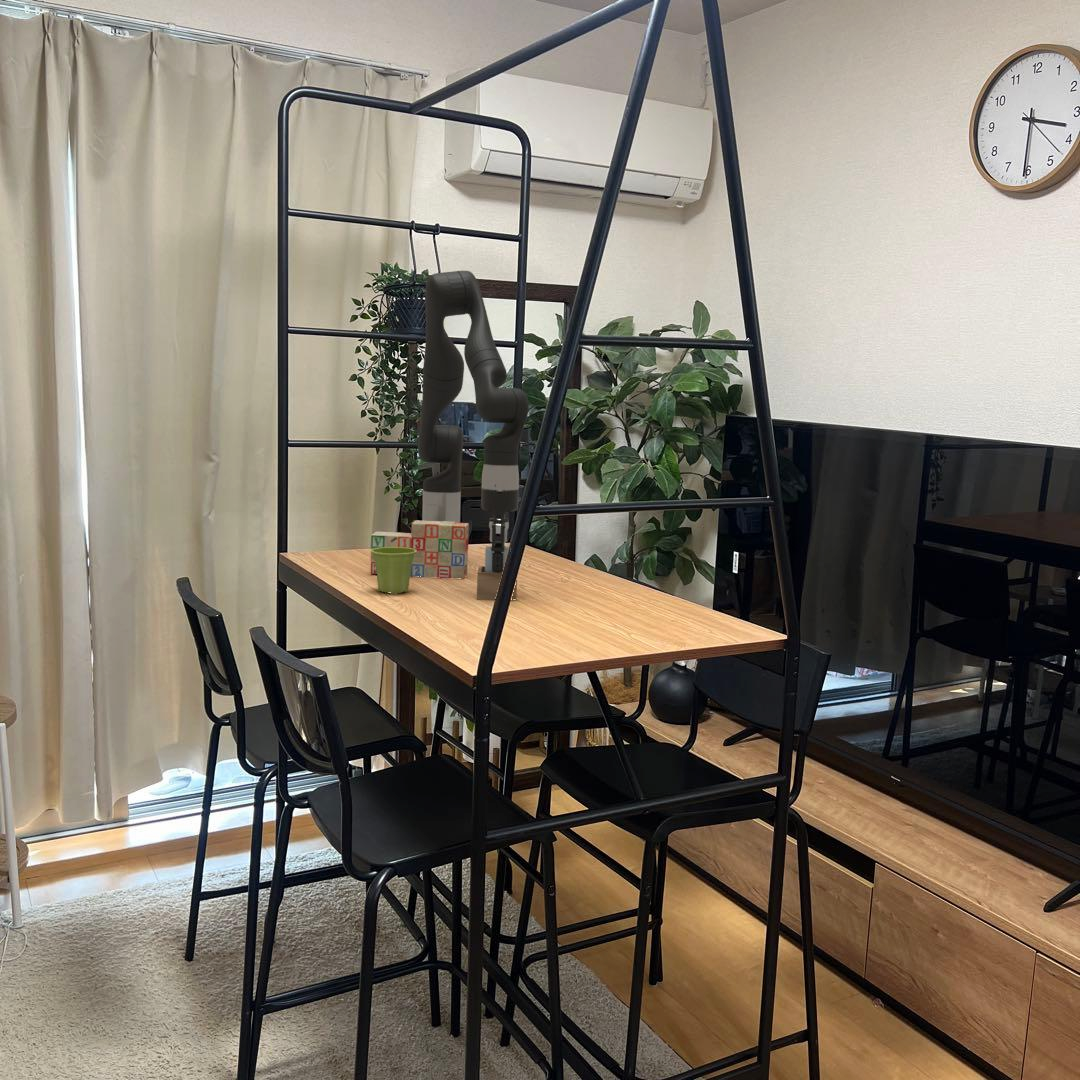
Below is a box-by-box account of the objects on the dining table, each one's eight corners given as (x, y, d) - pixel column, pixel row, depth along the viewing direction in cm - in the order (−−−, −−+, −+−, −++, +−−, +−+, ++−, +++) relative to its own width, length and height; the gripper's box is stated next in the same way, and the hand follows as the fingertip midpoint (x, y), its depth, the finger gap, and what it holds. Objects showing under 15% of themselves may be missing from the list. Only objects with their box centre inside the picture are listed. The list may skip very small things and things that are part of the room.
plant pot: (371, 595, 212) (371, 553, 211) (369, 587, 221) (369, 546, 220) (417, 595, 214) (418, 553, 213) (413, 587, 223) (414, 546, 222)
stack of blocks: (369, 575, 235) (370, 521, 234) (375, 571, 242) (376, 518, 240) (464, 580, 234) (466, 525, 233) (467, 575, 241) (469, 522, 239)
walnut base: (478, 591, 220) (479, 566, 219) (516, 593, 220) (517, 567, 220) (476, 599, 212) (477, 572, 212) (516, 600, 212) (517, 573, 212)
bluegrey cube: (485, 570, 218) (486, 546, 217) (509, 570, 218) (510, 547, 218) (484, 574, 213) (485, 549, 212) (509, 575, 213) (510, 550, 213)
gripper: (483, 483, 220) (480, 563, 223) (480, 489, 206) (477, 574, 208) (518, 484, 220) (516, 564, 223) (518, 490, 206) (515, 576, 209)
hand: (497, 569), depth 216 cm, fingers closed on bluegrey cube, 4 cm apart
